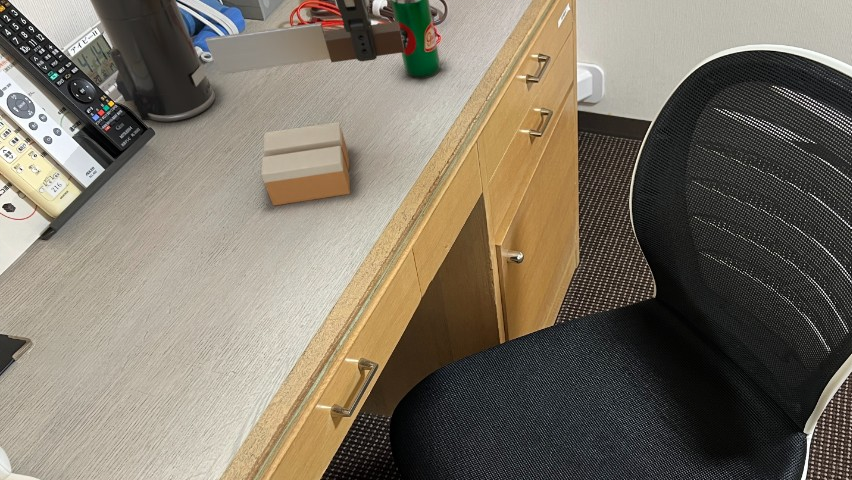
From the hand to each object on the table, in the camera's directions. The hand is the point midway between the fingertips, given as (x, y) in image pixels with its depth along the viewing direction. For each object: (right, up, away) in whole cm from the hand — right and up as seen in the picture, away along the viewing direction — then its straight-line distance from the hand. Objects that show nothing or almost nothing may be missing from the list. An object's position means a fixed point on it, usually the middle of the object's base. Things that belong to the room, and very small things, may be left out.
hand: (366, 52), depth 92 cm
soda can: (+1, +7, +27) cm, 28 cm away
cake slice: (-9, -14, +8) cm, 18 cm away
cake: (-10, -10, +11) cm, 18 cm away
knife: (-6, -1, -1) cm, 6 cm away
